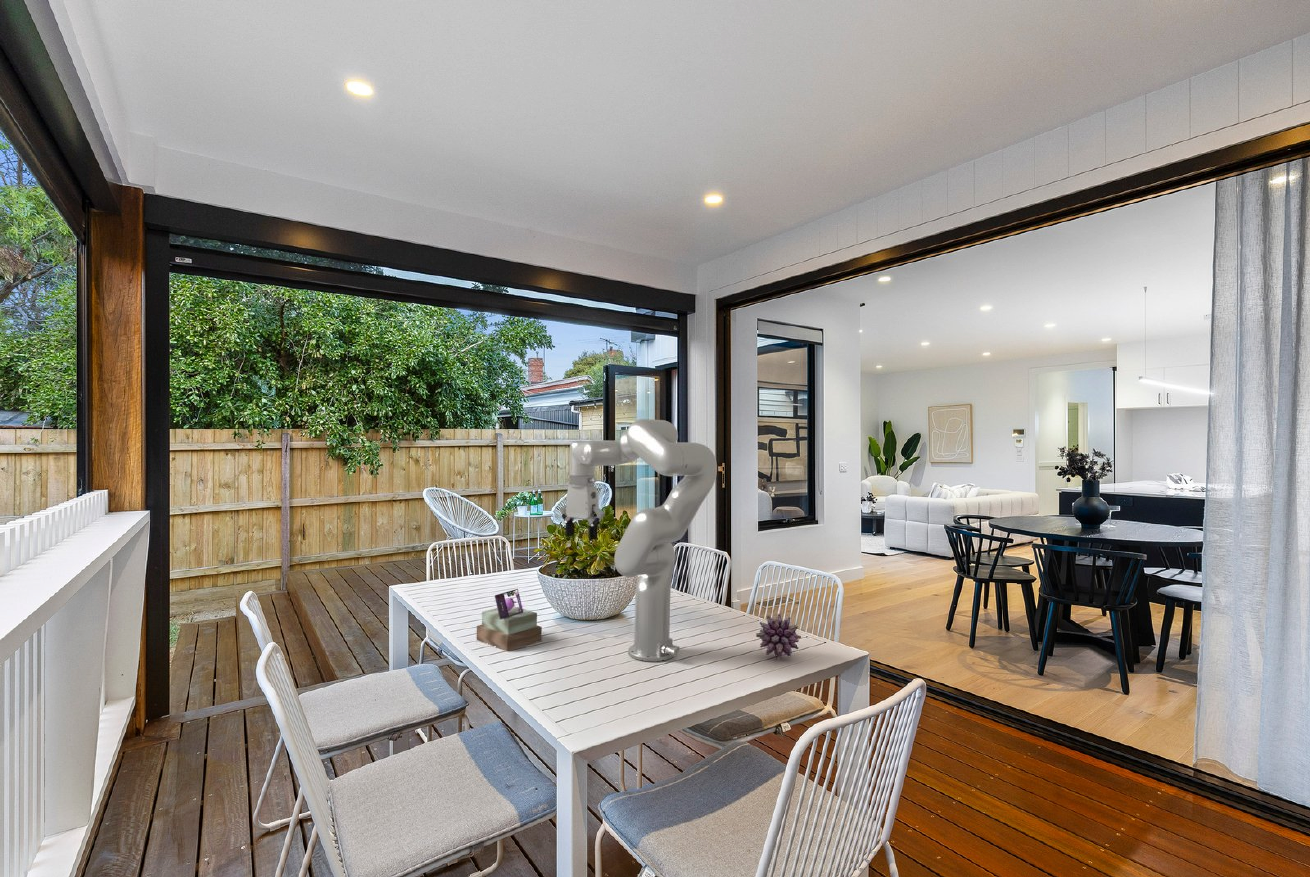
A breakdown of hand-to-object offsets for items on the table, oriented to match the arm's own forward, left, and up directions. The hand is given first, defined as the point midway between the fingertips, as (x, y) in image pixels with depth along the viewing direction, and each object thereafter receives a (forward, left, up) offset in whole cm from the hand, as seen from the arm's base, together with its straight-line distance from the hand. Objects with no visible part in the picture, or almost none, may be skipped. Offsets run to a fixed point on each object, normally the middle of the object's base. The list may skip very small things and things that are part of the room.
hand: (581, 537), depth 193 cm
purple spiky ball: (-58, -19, -28) cm, 67 cm away
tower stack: (+6, +21, -28) cm, 36 cm away
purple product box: (+5, +24, -20) cm, 31 cm away
